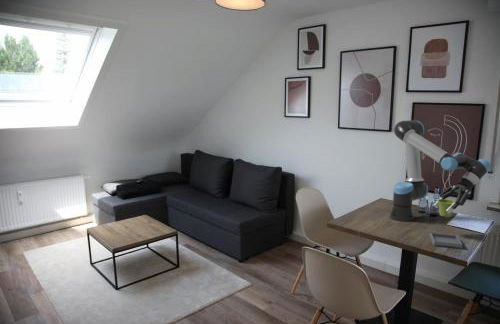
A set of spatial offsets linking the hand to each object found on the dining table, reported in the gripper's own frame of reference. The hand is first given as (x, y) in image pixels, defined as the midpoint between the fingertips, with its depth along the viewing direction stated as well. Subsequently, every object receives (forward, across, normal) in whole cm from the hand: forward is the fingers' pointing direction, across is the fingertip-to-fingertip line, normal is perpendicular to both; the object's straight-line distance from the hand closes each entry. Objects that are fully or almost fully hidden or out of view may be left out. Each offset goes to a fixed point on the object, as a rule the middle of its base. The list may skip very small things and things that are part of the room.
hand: (441, 209), depth 198 cm
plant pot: (+1, 0, -5) cm, 5 cm away
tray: (+15, -12, -6) cm, 20 cm away
